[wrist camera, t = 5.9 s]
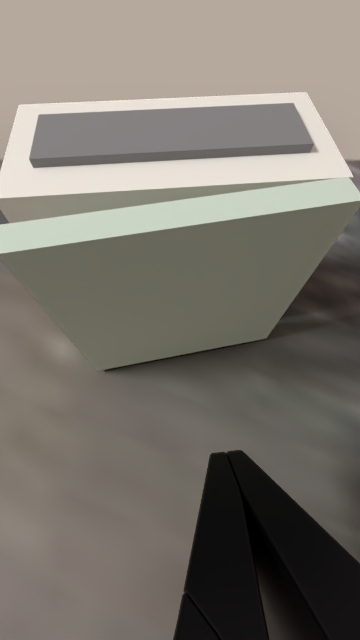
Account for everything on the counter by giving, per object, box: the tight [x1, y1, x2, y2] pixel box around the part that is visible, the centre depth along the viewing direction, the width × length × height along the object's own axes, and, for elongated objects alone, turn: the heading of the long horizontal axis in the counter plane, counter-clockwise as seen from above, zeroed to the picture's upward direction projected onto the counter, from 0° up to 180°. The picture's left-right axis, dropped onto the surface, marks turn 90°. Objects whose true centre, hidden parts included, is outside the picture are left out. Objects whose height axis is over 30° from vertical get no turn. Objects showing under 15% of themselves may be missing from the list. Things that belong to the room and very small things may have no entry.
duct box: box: [0, 92, 353, 223], centre depth 14 cm, size 5×11×10 cm, turn 96°
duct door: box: [0, 177, 360, 371], centre depth 12 cm, size 1×10×10 cm, turn 101°
